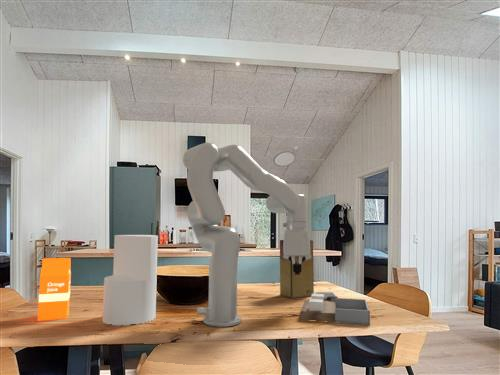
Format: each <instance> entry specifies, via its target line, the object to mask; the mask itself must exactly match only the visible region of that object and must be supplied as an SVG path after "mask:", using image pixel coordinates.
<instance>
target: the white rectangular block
mask: <svg viewBox="0 0 500 375" xmlns="http://www.w3.org/2000/svg"><path fill="white" fill-rule="evenodd" d="M309 311H323V300H320V299H311V298H309Z"/></svg>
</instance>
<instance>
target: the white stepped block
mask: <svg viewBox="0 0 500 375" xmlns="http://www.w3.org/2000/svg"><path fill="white" fill-rule="evenodd" d="M158 244H159V235H156V234H155V235H154V234H116V235H115V234H114V244H113V247H114V248H113V266H112V267H113V269H112V275H109V276H105V277H104V278H103V298H102V323H104V324H107V325H109V324H112V325H111V326H121V325H123V326H131V325H130V324H136V325H141V324H140V323H142V324H146V323H149V322H152V321H154V320H155V319H156V317H157V316H156V314H157V312H156V311H157V285H158V284H157V279H158V277H157V276H158V247H159V246H158ZM154 318H155V319H154ZM153 319H154V320H153ZM151 320H152V321H151ZM148 321H149V322H148ZM145 322H146V323H145Z"/></svg>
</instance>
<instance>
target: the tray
mask: <svg viewBox="0 0 500 375" xmlns="http://www.w3.org/2000/svg"><path fill="white" fill-rule="evenodd" d="M370 317H371V312H370V308H369V305H368V302H367V300H366V299H363V298H362V299H359V298H341V297H340V298H339V297H338V298H336V308H335V322H340V323H339V324H348V323H349V324H350V325H362V324H364V326H371V318H370Z"/></svg>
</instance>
